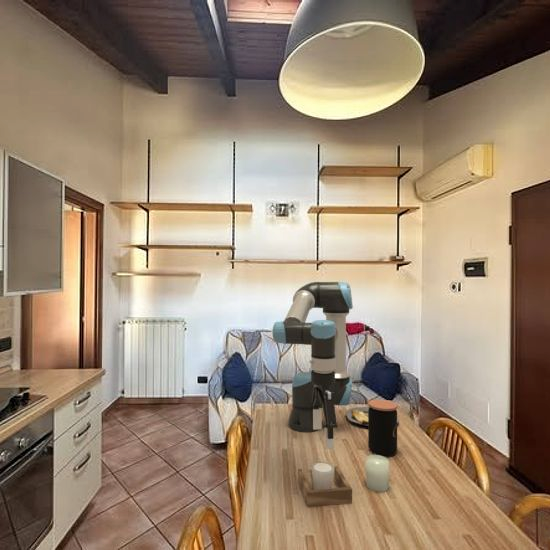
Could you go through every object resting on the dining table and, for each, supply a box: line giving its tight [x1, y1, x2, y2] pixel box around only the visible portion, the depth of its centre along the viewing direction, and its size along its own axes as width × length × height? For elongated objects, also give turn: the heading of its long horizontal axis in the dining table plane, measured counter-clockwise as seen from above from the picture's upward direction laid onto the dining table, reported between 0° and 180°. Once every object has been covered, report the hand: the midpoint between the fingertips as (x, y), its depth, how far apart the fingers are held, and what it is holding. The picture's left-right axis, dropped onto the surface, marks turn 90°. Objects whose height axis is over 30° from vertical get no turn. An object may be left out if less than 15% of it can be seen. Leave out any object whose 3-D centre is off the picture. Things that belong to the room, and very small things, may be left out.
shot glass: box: [311, 461, 335, 490], centre depth 113 cm, size 7×7×7 cm
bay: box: [297, 465, 353, 508], centre depth 111 cm, size 13×13×4 cm
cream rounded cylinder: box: [365, 454, 390, 493], centre depth 115 cm, size 7×7×8 cm
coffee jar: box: [367, 399, 398, 458], centre depth 139 cm, size 11×11×18 cm
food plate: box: [344, 406, 400, 427], centre depth 170 cm, size 25×23×4 cm
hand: (323, 438), depth 113 cm, fingers open, 13 cm apart
